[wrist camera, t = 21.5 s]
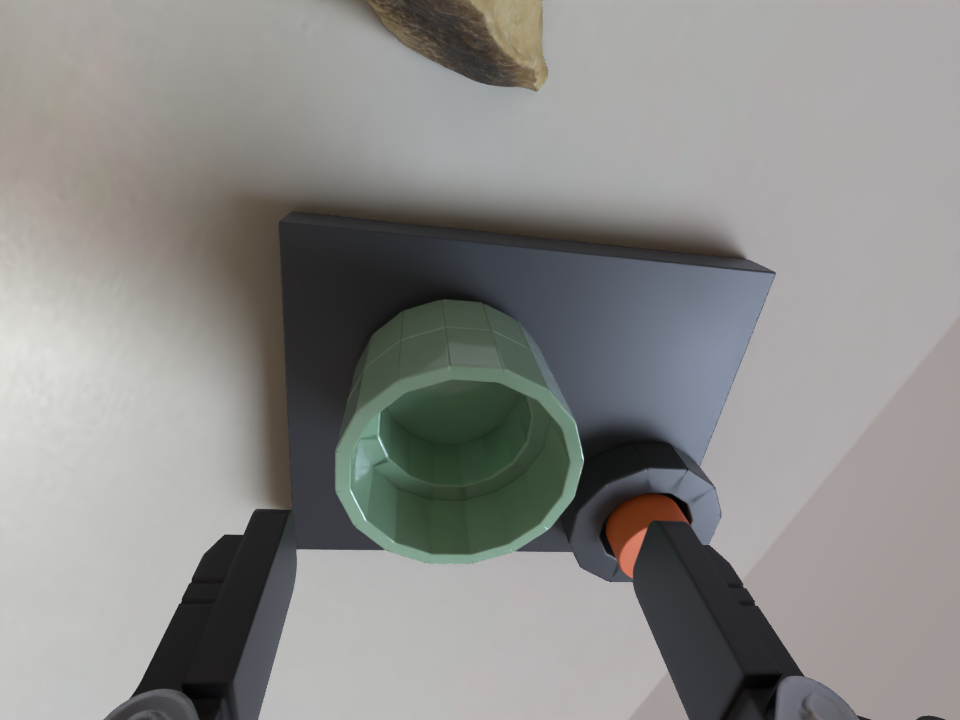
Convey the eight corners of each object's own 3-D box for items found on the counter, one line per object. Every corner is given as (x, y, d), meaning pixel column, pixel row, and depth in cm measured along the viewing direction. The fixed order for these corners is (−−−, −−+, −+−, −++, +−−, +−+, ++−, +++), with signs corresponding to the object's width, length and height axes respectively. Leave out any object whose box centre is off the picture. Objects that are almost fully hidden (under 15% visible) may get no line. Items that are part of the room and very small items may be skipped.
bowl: (557, 303, 17) (607, 375, 12) (525, 460, 19) (556, 565, 15) (358, 286, 16) (335, 357, 11) (355, 453, 18) (334, 563, 14)
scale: (760, 260, 18) (822, 289, 16) (660, 527, 24) (692, 583, 21) (290, 210, 16) (262, 233, 13) (301, 520, 22) (284, 583, 19)
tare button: (689, 493, 19) (709, 523, 18) (666, 550, 21) (684, 582, 19) (615, 491, 19) (630, 521, 18) (597, 549, 20) (610, 582, 19)
